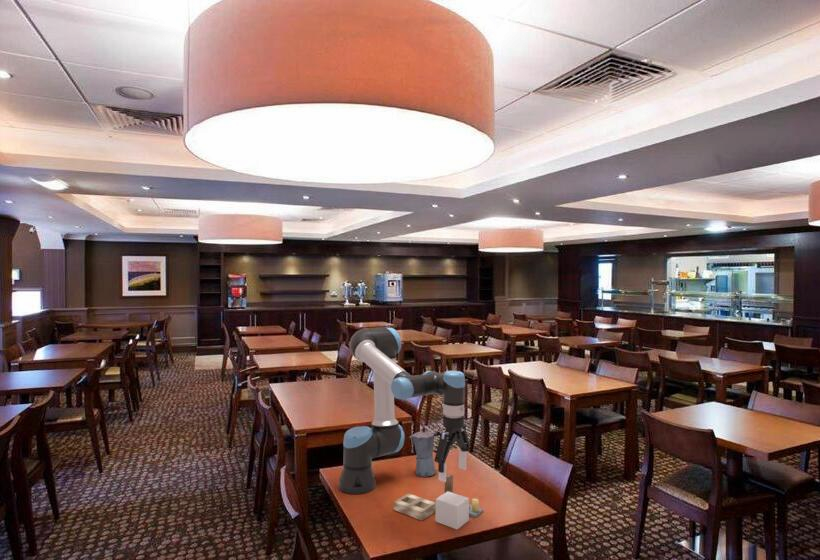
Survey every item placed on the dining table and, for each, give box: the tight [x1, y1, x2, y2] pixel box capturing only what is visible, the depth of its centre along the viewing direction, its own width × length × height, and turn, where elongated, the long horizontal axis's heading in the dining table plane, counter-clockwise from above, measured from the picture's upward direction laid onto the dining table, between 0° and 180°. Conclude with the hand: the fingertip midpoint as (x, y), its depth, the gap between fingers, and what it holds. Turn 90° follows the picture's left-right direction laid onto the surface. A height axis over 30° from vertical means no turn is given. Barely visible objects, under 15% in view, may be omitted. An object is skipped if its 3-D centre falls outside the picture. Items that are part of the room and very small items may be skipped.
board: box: [469, 497, 484, 519], centre depth 179 cm, size 7×6×5 cm
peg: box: [444, 473, 454, 493], centre depth 187 cm, size 3×3×10 cm
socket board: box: [393, 492, 436, 521], centre depth 179 cm, size 13×9×3 cm
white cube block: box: [434, 491, 470, 530], centre depth 172 cm, size 9×8×8 cm
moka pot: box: [409, 427, 441, 478], centre depth 214 cm, size 10×15×20 cm, turn 107°
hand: (452, 474), depth 172 cm, fingers open, 13 cm apart
